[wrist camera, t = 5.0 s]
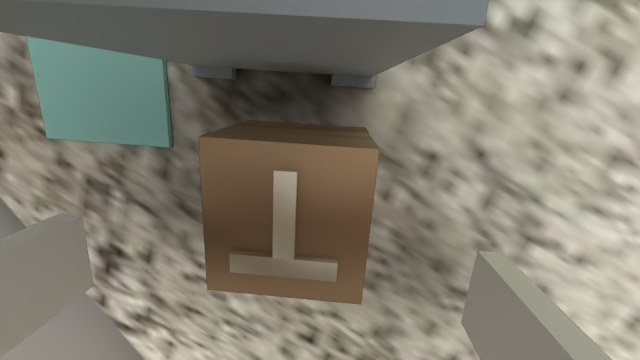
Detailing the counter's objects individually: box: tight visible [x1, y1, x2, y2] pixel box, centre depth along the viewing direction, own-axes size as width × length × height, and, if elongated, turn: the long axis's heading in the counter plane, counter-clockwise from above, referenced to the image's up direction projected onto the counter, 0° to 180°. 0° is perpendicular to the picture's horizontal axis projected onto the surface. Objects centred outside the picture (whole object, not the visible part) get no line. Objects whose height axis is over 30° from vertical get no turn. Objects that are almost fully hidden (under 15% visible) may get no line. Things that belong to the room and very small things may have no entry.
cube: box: [198, 120, 379, 304], centre depth 16 cm, size 7×7×7 cm
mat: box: [26, 36, 173, 148], centre depth 18 cm, size 8×8×1 cm
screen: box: [0, 0, 489, 88], centre depth 10 cm, size 2×10×14 cm, turn 86°
